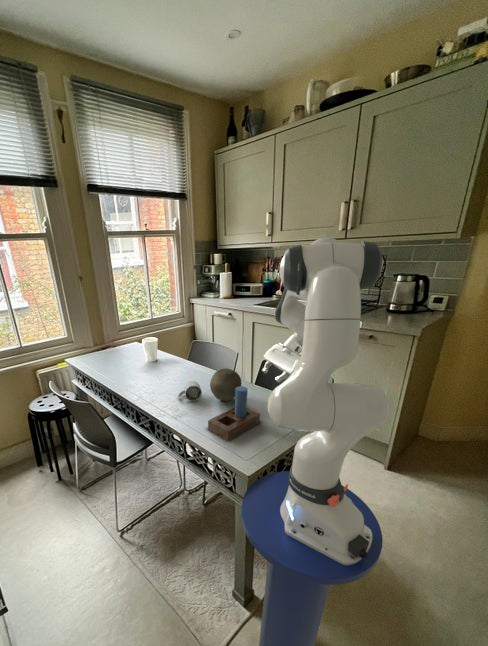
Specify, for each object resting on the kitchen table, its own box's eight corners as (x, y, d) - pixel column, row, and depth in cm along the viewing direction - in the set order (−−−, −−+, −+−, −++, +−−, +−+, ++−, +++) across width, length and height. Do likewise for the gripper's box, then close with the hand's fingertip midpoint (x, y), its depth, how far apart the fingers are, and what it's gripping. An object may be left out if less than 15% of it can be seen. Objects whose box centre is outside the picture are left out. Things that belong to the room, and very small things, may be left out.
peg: (248, 422, 126) (250, 388, 120) (240, 426, 123) (242, 392, 117) (239, 418, 129) (240, 385, 123) (232, 422, 126) (233, 388, 120)
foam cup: (162, 359, 195) (160, 338, 189) (151, 363, 188) (150, 342, 183) (151, 356, 200) (149, 336, 195) (140, 360, 194) (138, 340, 189)
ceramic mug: (199, 392, 151) (199, 378, 148) (202, 400, 144) (201, 385, 140) (177, 394, 150) (176, 380, 147) (179, 402, 143) (177, 387, 140)
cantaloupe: (205, 395, 148) (205, 366, 142) (234, 391, 151) (234, 362, 145) (215, 410, 136) (215, 378, 129) (246, 405, 139) (247, 373, 132)
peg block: (259, 422, 126) (260, 413, 124) (227, 440, 115) (227, 431, 113) (239, 412, 133) (239, 404, 131) (208, 429, 122) (208, 420, 121)
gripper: (274, 337, 128) (251, 363, 129) (306, 352, 110) (280, 382, 112) (283, 346, 131) (260, 371, 133) (315, 362, 113) (289, 391, 115)
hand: (269, 376), depth 122 cm, fingers open, 8 cm apart
